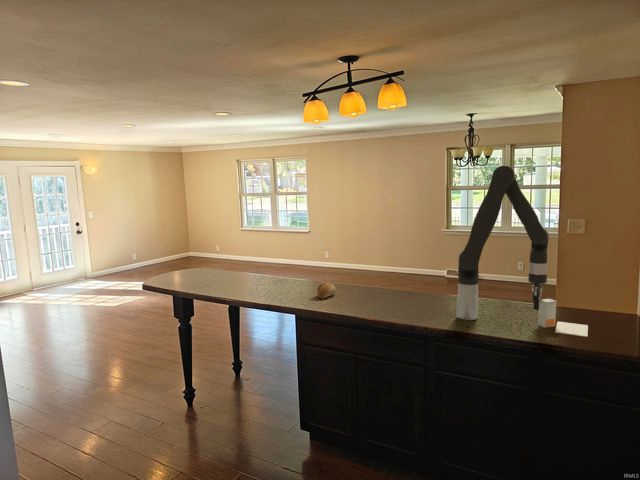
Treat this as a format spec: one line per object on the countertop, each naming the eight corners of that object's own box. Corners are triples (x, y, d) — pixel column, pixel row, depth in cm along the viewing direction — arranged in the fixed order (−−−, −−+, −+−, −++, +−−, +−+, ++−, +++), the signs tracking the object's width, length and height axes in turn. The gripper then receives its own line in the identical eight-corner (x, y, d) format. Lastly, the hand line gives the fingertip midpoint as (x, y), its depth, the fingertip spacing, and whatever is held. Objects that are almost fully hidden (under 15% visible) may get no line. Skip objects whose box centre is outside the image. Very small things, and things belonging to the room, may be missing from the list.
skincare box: (544, 328, 193) (546, 302, 191) (537, 325, 197) (538, 299, 195) (555, 326, 195) (557, 300, 193) (548, 323, 199) (549, 298, 197)
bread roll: (313, 298, 253) (312, 285, 252) (325, 292, 266) (325, 280, 265) (327, 300, 248) (327, 286, 247) (339, 294, 261) (338, 281, 260)
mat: (555, 332, 187) (555, 331, 187) (557, 322, 200) (557, 321, 200) (587, 337, 181) (587, 336, 180) (587, 326, 194) (588, 325, 194)
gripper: (530, 269, 203) (529, 304, 205) (526, 274, 192) (525, 311, 194) (548, 270, 199) (546, 306, 201) (545, 275, 188) (544, 314, 190)
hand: (536, 309), depth 197 cm, fingers closed
